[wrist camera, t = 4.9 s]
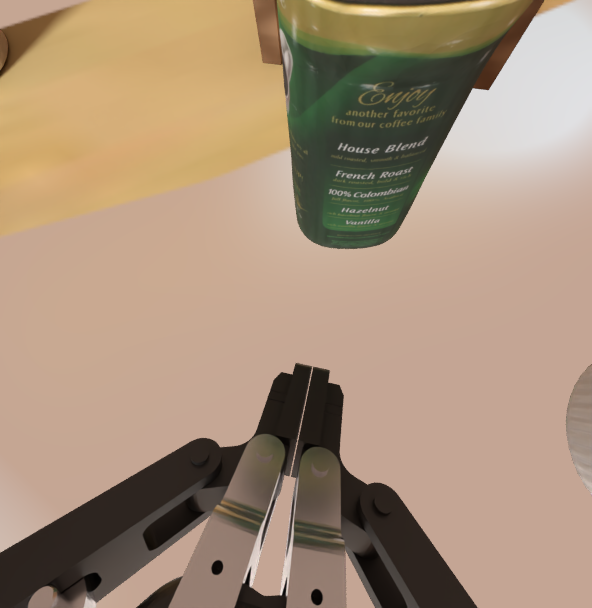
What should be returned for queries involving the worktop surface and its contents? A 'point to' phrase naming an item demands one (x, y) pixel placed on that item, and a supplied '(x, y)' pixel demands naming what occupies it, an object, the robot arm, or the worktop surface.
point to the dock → (272, 54)
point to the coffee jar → (376, 102)
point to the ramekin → (581, 427)
